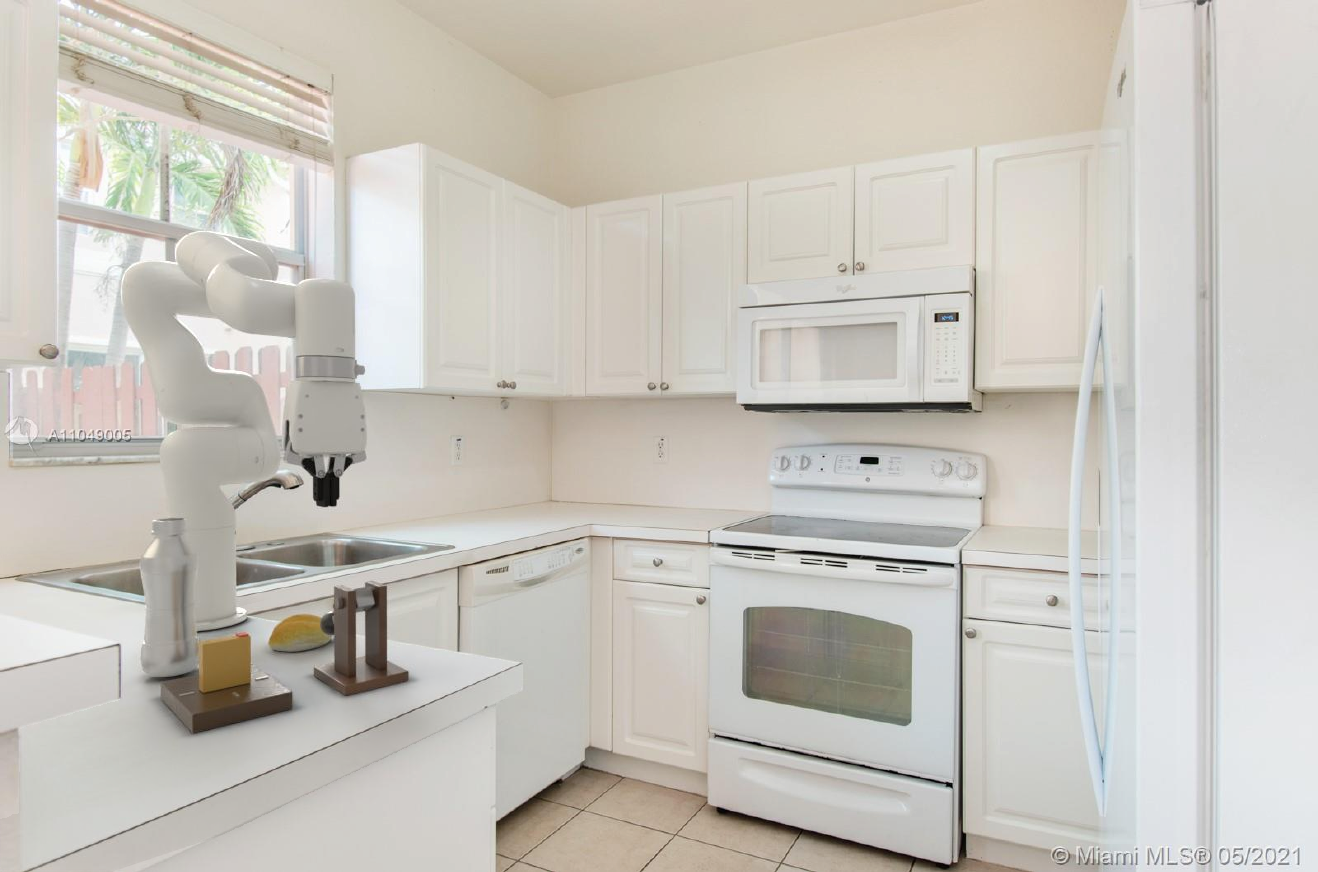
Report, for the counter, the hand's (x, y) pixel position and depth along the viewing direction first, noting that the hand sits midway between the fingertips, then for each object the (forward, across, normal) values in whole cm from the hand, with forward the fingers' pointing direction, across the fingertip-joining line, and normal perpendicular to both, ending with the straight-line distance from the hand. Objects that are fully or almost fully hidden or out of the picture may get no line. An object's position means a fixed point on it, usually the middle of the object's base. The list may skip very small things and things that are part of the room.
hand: (326, 505), depth 106 cm
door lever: (+15, 0, +7) cm, 16 cm away
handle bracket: (+21, 0, +11) cm, 24 cm away
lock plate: (+21, +15, +9) cm, 27 cm away
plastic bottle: (+21, +17, -7) cm, 28 cm away
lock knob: (+19, +15, +9) cm, 26 cm away
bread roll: (+21, 0, -10) cm, 24 cm away
